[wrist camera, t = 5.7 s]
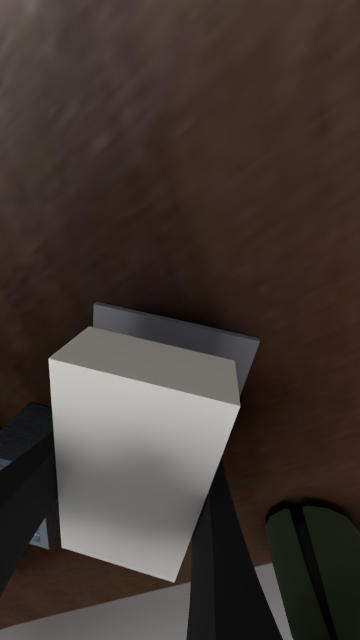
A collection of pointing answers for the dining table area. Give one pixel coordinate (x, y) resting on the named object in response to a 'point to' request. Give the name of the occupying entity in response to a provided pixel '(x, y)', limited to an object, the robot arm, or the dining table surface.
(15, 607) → the dining table surface
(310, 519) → the character mug
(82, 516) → the lid
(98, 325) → the mat
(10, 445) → the tin
